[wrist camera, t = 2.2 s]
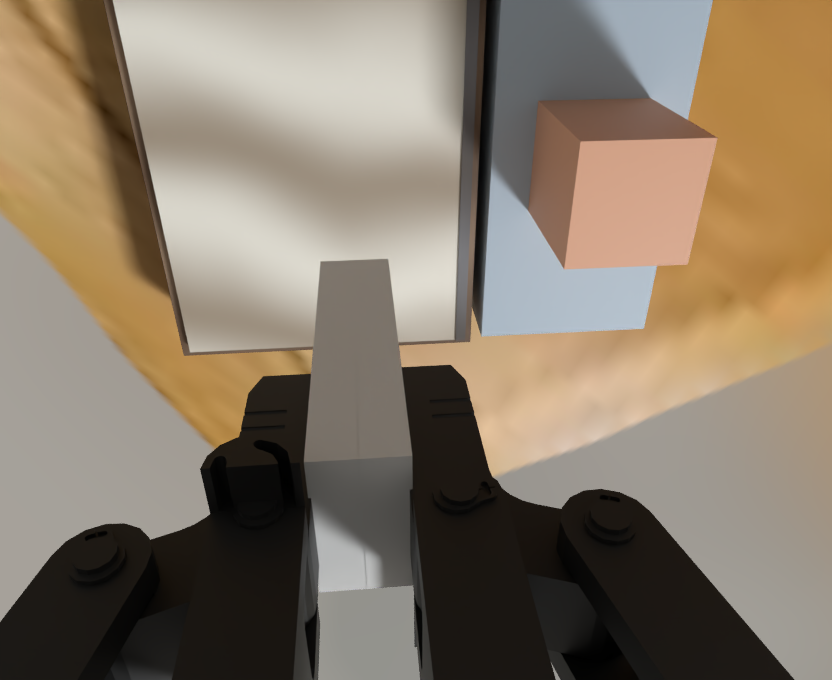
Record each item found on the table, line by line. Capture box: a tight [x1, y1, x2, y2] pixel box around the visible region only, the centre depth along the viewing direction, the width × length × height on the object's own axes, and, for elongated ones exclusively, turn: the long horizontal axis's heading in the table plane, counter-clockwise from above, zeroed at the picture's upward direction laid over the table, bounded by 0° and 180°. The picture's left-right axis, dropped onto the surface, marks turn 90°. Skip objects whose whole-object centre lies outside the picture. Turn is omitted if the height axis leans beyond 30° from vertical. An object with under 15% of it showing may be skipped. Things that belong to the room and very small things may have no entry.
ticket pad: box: [104, 0, 486, 356], centre depth 25 cm, size 16×12×4 cm
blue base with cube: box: [472, 0, 717, 336], centre depth 24 cm, size 15×7×8 cm, turn 0°
